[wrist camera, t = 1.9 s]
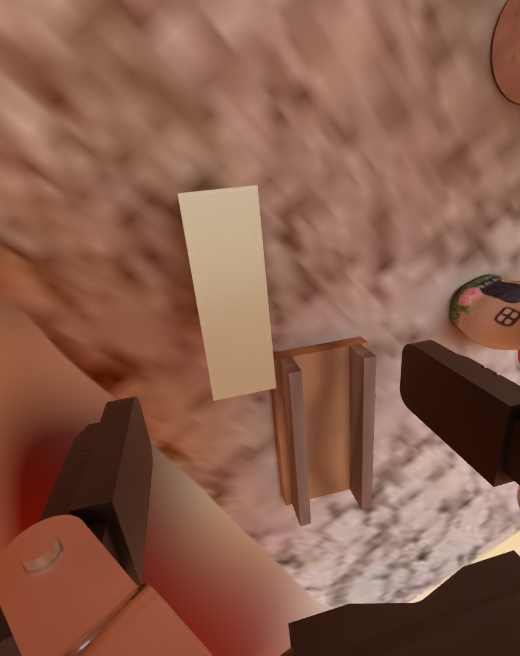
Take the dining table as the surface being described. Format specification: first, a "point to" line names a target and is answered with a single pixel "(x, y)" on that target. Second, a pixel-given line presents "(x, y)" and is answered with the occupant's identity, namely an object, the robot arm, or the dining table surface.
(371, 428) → the door track
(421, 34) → the dining table surface
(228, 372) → the door panel
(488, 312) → the decorative ornament
